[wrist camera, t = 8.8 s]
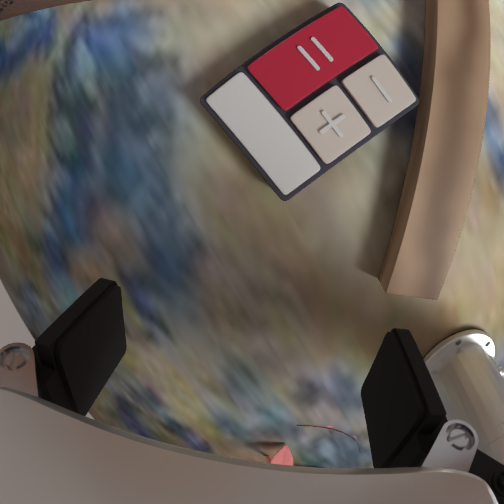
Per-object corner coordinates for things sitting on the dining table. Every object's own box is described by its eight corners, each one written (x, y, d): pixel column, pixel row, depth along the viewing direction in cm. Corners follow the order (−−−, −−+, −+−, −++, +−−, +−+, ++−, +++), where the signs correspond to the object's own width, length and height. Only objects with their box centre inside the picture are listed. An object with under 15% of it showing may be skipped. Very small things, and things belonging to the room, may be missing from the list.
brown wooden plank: (474, 4, 18) (488, -4, 15) (426, 286, 30) (437, 300, 28) (425, -19, 18) (436, -29, 16) (378, 278, 31) (385, 293, 28)
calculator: (426, 101, 21) (284, 205, 25) (406, 105, 25) (282, 195, 29) (343, -3, 18) (195, 98, 22) (334, 14, 22) (206, 104, 26)
